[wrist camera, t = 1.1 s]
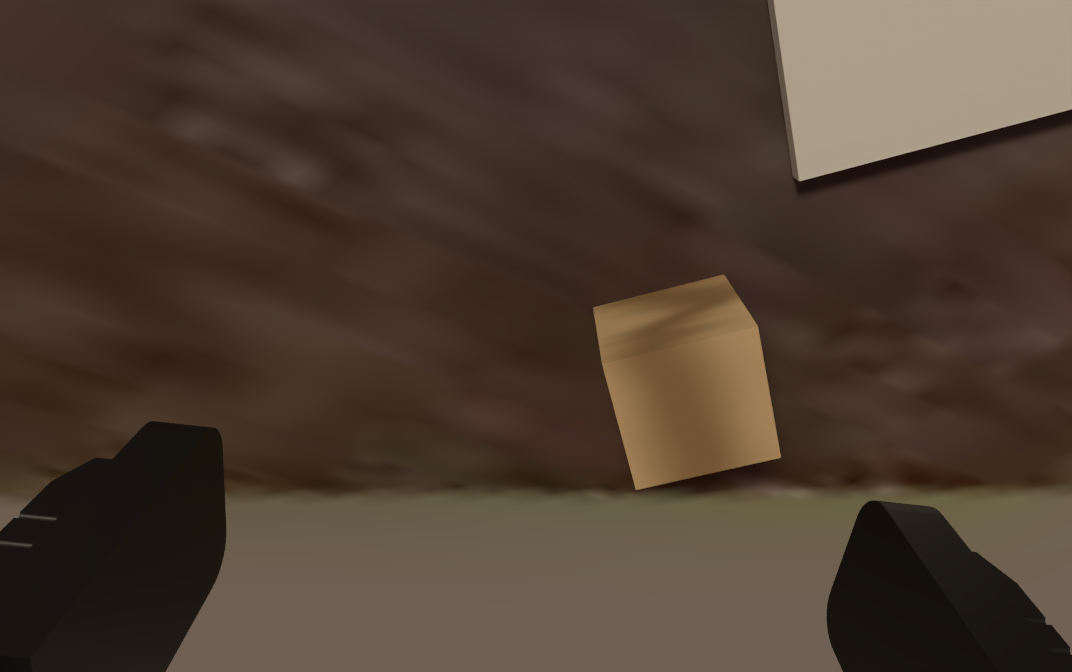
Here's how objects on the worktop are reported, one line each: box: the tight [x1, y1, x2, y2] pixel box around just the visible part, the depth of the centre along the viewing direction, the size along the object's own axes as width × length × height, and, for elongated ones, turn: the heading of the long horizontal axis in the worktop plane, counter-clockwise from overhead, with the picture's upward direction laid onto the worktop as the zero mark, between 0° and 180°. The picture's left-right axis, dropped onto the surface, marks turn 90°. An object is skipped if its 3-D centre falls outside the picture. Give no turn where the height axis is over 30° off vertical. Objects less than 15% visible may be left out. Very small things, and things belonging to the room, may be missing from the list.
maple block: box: [593, 275, 781, 490], centre depth 30 cm, size 6×6×6 cm
